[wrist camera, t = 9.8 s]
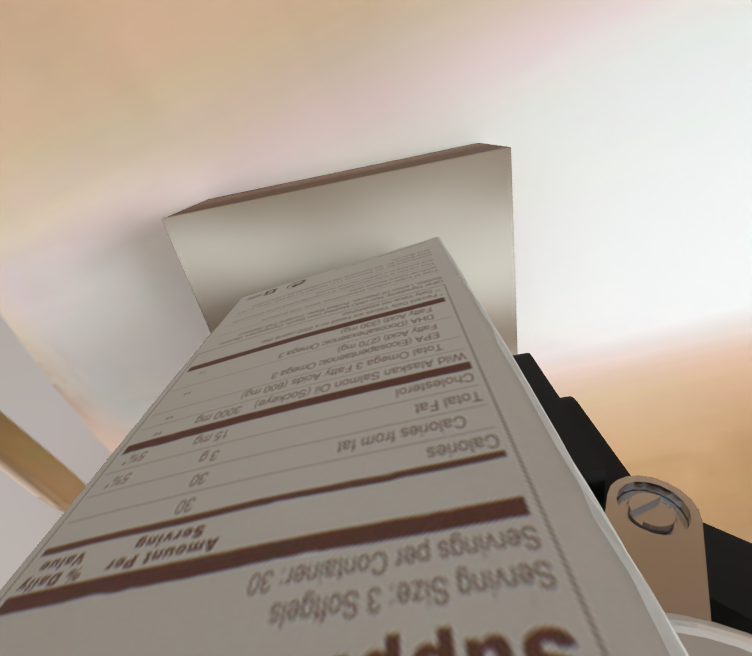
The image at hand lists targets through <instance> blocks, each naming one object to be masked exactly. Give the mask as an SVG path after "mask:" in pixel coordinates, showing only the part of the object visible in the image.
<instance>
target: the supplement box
mask: <svg viewBox="0 0 752 656" xmlns="http://www.w3.org/2000/svg"><path fill="white" fill-rule="evenodd" d="M0 656H689V655H688V653H687V651H686V649H685V648H684V646H683V644H682V642H681V641H680V639H679V637H678V635H677V634H676V632H675V630H674V629H673V627H672V625H671V623H670V622H669V620H668V618H667V616H666V615H665V613H664V611H663V609H662V608H661V606H660V604H659V602H658V601H657V599H656V597H655V595H654V594H653V592H652V590H651V589H650V587H649V586H648V584H647V582H646V581H645V579H644V578H643V576H642V574H641V573H640V571H639V570H638V568H637V566H636V565H635V563H634V562H633V560H632V559H631V557H630V555H629V554H628V552H627V550H626V549H625V547H624V545H623V543H622V542H621V540H620V538H619V537H618V535H617V533H616V531H615V530H614V528H613V526H612V524H611V523H610V521H609V519H608V518H607V516H606V514H605V512H604V511H603V509H602V507H601V506H600V504H599V502H598V501H597V499H596V497H595V496H594V494H593V492H592V491H591V489H590V487H589V486H588V484H587V482H586V481H585V479H584V478H583V476H582V475H581V473H580V472H579V470H578V468H577V467H576V465H575V464H574V462H573V461H572V459H571V457H570V455H569V453H568V451H567V450H566V448H565V446H564V444H563V442H562V440H561V439H560V437H559V435H558V433H557V432H556V430H555V428H554V426H553V425H552V423H551V421H550V419H549V418H548V416H547V414H546V413H545V411H544V409H543V407H542V406H541V404H540V402H539V401H538V399H537V397H536V395H535V394H534V392H533V390H532V388H531V387H530V385H529V383H528V382H527V380H526V378H525V376H524V375H523V373H522V371H521V370H520V368H519V366H518V364H517V363H516V361H515V359H514V358H513V356H512V354H511V352H510V351H509V349H508V347H507V346H506V344H505V342H504V341H503V339H502V338H501V336H500V334H499V333H498V331H497V329H496V328H495V326H494V324H493V323H492V321H491V319H490V318H489V316H488V314H487V313H486V311H485V309H484V308H483V306H482V304H481V303H480V301H479V300H478V298H477V297H476V295H475V293H474V291H473V289H472V288H471V286H470V285H469V283H468V282H467V280H466V278H465V276H464V275H463V273H462V271H461V270H460V268H459V267H458V265H457V263H456V262H455V260H454V259H453V257H452V255H451V254H450V252H449V251H448V249H447V248H446V246H445V244H444V242H443V241H442V239H441V238H440V237H434V238H431V239H428V240H425V241H423V242H419V243H416V244H413V245H410V246H406V247H403V248H400V249H396V250H393V251H390V252H387V253H384V254H380V255H377V256H374V257H371V258H368V259H365V260H361V261H358V262H355V263H352V264H348V265H344V266H341V267H338V268H335V269H332V270H328V271H325V272H322V273H319V274H316V275H313V276H309V277H306V278H302V279H300V280H296V281H293V282H290V283H287V284H283V285H280V286H277V287H274V288H271V289H268V290H264V291H261V292H258V293H254V294H251V295H248V296H246V297H243V298H241V299H240V300H239V302H238V303H237V304H236V305H235V307H234V308H233V309H232V310H231V311H230V312H229V314H228V315H227V316H226V317H225V318H224V320H223V321H222V322H221V323H220V324H219V326H218V327H217V328H216V329H215V330H214V331H213V332H212V333H211V334H210V335H209V336H208V338H207V339H206V340H205V341H204V343H203V344H202V345H201V346H200V348H199V349H198V350H197V351H196V352H195V354H194V355H193V356H192V358H191V359H190V360H189V361H188V362H187V364H186V365H185V366H184V367H183V368H182V369H181V371H180V372H179V373H178V374H177V375H176V377H175V378H174V379H173V380H172V382H171V383H170V384H169V385H168V387H167V388H166V389H165V390H164V391H163V393H162V394H161V395H160V396H159V397H158V399H157V400H156V401H155V402H154V404H153V405H152V406H151V407H150V408H149V410H148V411H147V412H146V413H145V414H144V416H143V417H142V418H141V420H140V421H139V422H138V423H137V425H136V426H135V427H134V428H133V429H132V430H131V431H130V433H129V434H128V435H127V436H126V438H125V439H124V440H123V442H122V443H121V444H120V445H119V446H118V448H117V449H116V450H115V451H114V452H113V453H112V454H111V456H110V457H109V458H108V459H107V461H106V462H105V463H104V464H103V466H102V467H101V468H100V469H99V471H98V472H97V473H96V474H95V476H94V477H93V478H92V479H91V481H90V482H89V483H88V484H87V486H86V487H85V488H84V489H83V490H82V492H81V493H80V494H79V495H78V497H77V498H76V499H75V500H74V501H73V503H72V504H71V505H70V506H69V508H68V509H67V510H66V511H65V512H64V514H63V515H62V516H61V517H60V519H59V520H58V521H57V522H56V523H55V525H54V526H53V527H52V528H51V530H50V531H49V532H48V533H47V534H46V536H45V537H44V538H43V539H42V541H41V542H40V543H39V544H38V545H37V547H36V548H35V549H34V550H33V551H32V553H31V554H30V555H29V556H28V557H27V559H26V560H25V561H24V562H23V563H22V565H21V566H20V567H19V568H18V570H17V571H16V572H15V573H14V574H13V576H12V577H11V578H10V579H9V581H8V582H7V583H6V584H5V586H4V587H3V588H2V589H1V590H0Z"/></svg>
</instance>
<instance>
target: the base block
mask: <svg viewBox="0 0 752 656" xmlns="http://www.w3.org/2000/svg"><path fill="white" fill-rule="evenodd" d="M162 221H163V224H164V226H165V228H166V231H167V233H168V235H169V237H170V240H171V242H172V244H173V247H174V249H175V251H176V254H177V256H178V258H179V260H180V263H181V265H182V267H183V270H184V272H185V274H186V277H187V279H188V281H189V283H190V286H191V288H192V290H193V293H194V295H195V297H196V299H197V302H198V304H199V306H200V309H201V311H202V313H203V316H204V318H205V320H206V322H207V325H208V327H209V329H210V332H211V333H212V332H213V331H214V330H215V329H216V328H217V327H218V326H219V324H220V323H221V322H222V321H223V320H224V318H225V317H226V316H227V315H228V314H229V312H230V311H231V310H232V309H233V308H234V307H235V305H236V304H237V303H238V302H239V300H240V299H241V298H243V297H246V296H248V295H251V294H254V293H258V292H261V291H264V290H268V289H271V288H274V287H277V286H280V285H283V284H287V283H290V282H293V281H296V280H300V279H302V278H306V277H309V276H313V275H316V274H319V273H322V272H325V271H328V270H332V269H335V268H338V267H341V266H344V265H348V264H352V263H355V262H358V261H361V260H365V259H368V258H371V257H374V256H377V255H380V254H384V253H387V252H390V251H393V250H396V249H400V248H403V247H406V246H410V245H413V244H416V243H419V242H423V241H425V240H428V239H431V238H434V237H440V238H441V239H442V241H443V242H444V244H445V246H446V248H447V249H448V251H449V252H450V254H451V255H452V257H453V259H454V260H455V262H456V263H457V265H458V267H459V268H460V270H461V271H462V273H463V275H464V276H465V278H466V280H467V282H468V283H469V285H470V286H471V288H472V289H473V291H474V293H475V295H476V297H477V298H478V300H479V301H480V303H481V304H482V306H483V308H484V309H485V311H486V313H487V314H488V316H489V318H490V319H491V321H492V323H493V324H494V326H495V328H496V329H497V331H498V333H499V334H500V336H501V338H502V339H503V341H504V342H505V344H506V346H507V347H508V349H509V351H510V352H511V354H512V355H517V324H516V293H515V262H514V231H513V200H512V169H511V147H504V146H497V145H490V144H483V143H476V144H472V145H467V146H462V147H457V148H452V149H448V150H443V151H438V152H433V153H428V154H424V155H419V156H414V157H409V158H404V159H400V160H395V161H390V162H385V163H380V164H376V165H371V166H366V167H361V168H357V169H352V170H347V171H342V172H337V173H333V174H328V175H323V176H318V177H313V178H309V179H304V180H299V181H294V182H289V183H285V184H280V185H275V186H270V187H265V188H261V189H256V190H251V191H246V192H241V193H237V194H232V195H227V196H222V197H217V198H213V199H208V200H206V201H204V202H201V203H199V204H197V205H194V206H192V207H189V208H187V209H185V210H182V211H180V212H178V213H175V214H173V215H171V216H168V217H166V218H164V219H162Z"/></svg>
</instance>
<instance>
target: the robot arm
mask: <svg viewBox="0 0 752 656" xmlns="http://www.w3.org/2000/svg"><path fill="white" fill-rule="evenodd" d="M512 356H513V358H514V359H515V361H516V363H517V364H518V366H519V368H520V370H521V371H522V373H523V375H524V376H525V378H526V380H527V382H528V383H529V385H530V387H531V388H532V390H533V392H534V394H535V395H536V397H537V399H538V401H539V402H540V404H541V406H542V407H543V409H544V411H545V413H546V414H547V416H548V418H549V419H550V421H551V423H552V425H553V426H554V428H555V430H556V432H557V433H558V435H559V437H560V439H561V440H562V442H563V444H564V446H565V448H566V450H567V451H568V453H569V455H570V457H571V459H572V461H573V462H574V464H575V465H576V467H577V468H578V470H579V472H580V473H581V475H582V476H583V478H584V479H585V481H586V482H587V484H588V486H589V487H590V489H591V491H592V492H593V494H594V496H595V497H596V499H597V501H598V502H599V504H600V506H601V507H602V509H603V511H604V512H605V514H606V516H607V518H608V519H609V521H610V523H611V524H612V526H613V528H614V530H615V531H616V533H617V535H618V537H619V538H620V540H621V542H622V543H623V545H624V547H625V549H626V550H627V552H628V554H629V555H630V557H631V559H632V560H633V562H634V563H635V565H636V566H637V568H638V570H639V571H640V573H641V574H642V576H643V578H644V579H645V581H646V582H647V584H648V586H649V587H650V589H651V590H652V592H653V594H654V595H655V597H656V599H657V601H658V602H659V604H660V606H661V608H662V609H663V611H664V613H665V615H666V616H667V618H668V620H669V622H670V623H671V625H672V627H673V629H674V630H675V632H676V634H677V635H678V637H679V639H680V641H681V642H682V644H683V646H684V648H685V649H686V651H687V653H688V655H689V656H752V544H751V543H749V542H747V541H745V540H742V539H740V538H738V537H735V536H733V535H731V534H728V533H726V532H724V531H722V530H719V529H717V528H715V527H712V526H710V525H708V524H705V523H703V522H702V518H701V515H700V512H699V509H698V508H697V507H696V505H695V504H694V502H693V501H692V500H691V499H690V498H689V497H688V496H687V495H686V494H684V493H683V492H682V491H681V490H680V489H678V488H676V487H674V486H672V485H671V484H669V483H667V482H664V481H662V480H659V479H656V478H653V477H646V476H640V475H638V476H631V475H630V474H629V473H628V471H627V470H626V469H625V467H624V466H623V464H622V463H621V462H620V460H619V459H618V457H617V456H616V455H615V453H614V452H613V451H612V449H611V448H610V446H609V445H608V444H607V442H606V441H605V439H604V438H603V437H602V435H601V434H600V433H599V431H598V430H597V428H596V427H595V426H594V424H593V423H592V422H591V420H590V419H589V417H588V416H587V415H586V413H585V412H584V410H583V409H582V408H581V406H580V405H579V404H578V402H577V401H576V400H575V399H574V398H573V397H571V396H569V397H562V398H560V397H559V396H558V395H557V393H556V392H555V390H554V389H553V387H552V386H551V384H550V383H549V381H548V380H547V378H546V377H545V375H544V374H543V372H542V371H541V369H540V368H539V366H538V365H537V363H536V362H535V360H534V359H533V357H532V356H531V354H530V353H524V354H518V355H512Z"/></svg>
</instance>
